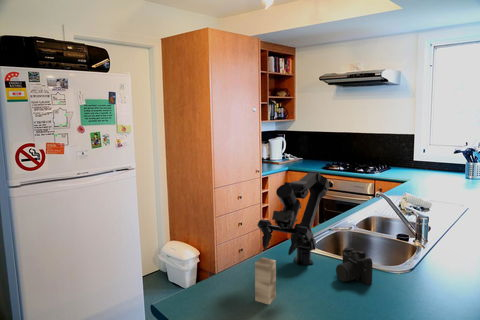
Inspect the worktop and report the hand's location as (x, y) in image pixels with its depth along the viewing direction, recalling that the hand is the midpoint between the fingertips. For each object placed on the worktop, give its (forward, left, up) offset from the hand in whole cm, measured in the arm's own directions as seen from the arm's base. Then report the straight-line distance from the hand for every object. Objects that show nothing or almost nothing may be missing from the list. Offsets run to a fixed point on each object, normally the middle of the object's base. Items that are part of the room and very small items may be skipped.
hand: (276, 252), depth 124 cm
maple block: (+6, -5, -13) cm, 16 cm away
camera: (-5, +28, -14) cm, 32 cm away
